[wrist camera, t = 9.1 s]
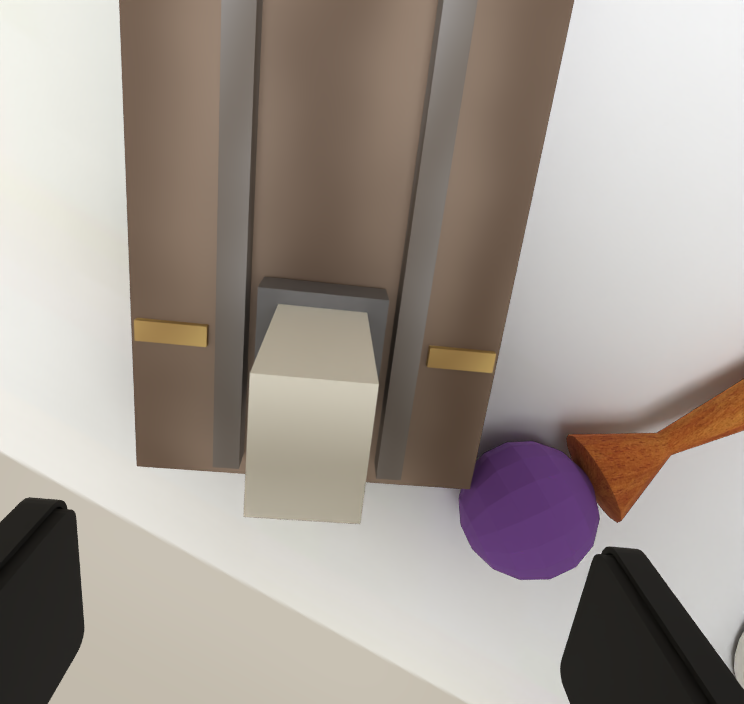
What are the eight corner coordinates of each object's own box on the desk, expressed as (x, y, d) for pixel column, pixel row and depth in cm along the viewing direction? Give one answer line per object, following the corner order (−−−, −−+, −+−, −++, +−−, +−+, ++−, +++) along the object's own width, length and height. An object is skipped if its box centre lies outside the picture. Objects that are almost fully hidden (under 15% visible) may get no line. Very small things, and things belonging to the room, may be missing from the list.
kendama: (940, 430, 23) (511, 630, 23) (812, 362, 28) (463, 527, 28) (965, 317, 20) (470, 550, 20) (816, 264, 25) (425, 451, 25)
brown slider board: (564, -99, 19) (625, -167, 15) (455, 453, 26) (476, 506, 22) (147, -173, 17) (91, -269, 13) (159, 430, 25) (125, 483, 21)
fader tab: (385, 289, 20) (411, 367, 12) (369, 411, 21) (384, 541, 14) (264, 276, 19) (219, 349, 12) (257, 402, 21) (215, 531, 14)
